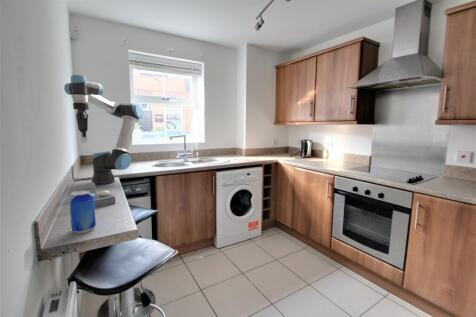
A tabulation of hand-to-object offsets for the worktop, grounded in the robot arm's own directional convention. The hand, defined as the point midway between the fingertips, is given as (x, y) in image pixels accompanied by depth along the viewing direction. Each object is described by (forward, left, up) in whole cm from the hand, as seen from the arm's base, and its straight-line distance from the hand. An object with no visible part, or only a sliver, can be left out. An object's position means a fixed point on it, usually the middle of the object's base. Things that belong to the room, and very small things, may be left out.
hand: (84, 142), depth 139 cm
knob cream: (0, +24, -31) cm, 39 cm away
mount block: (+3, +24, -32) cm, 40 cm away
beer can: (+19, +54, -33) cm, 66 cm away
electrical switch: (+4, +9, -33) cm, 34 cm away
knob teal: (+6, +24, -31) cm, 40 cm away
